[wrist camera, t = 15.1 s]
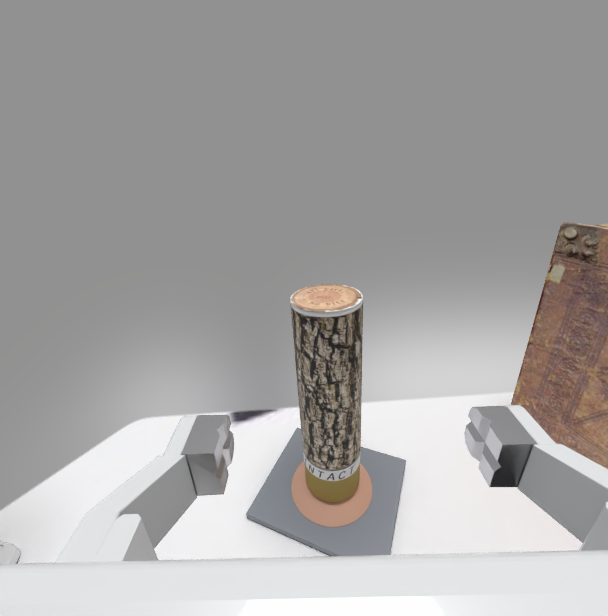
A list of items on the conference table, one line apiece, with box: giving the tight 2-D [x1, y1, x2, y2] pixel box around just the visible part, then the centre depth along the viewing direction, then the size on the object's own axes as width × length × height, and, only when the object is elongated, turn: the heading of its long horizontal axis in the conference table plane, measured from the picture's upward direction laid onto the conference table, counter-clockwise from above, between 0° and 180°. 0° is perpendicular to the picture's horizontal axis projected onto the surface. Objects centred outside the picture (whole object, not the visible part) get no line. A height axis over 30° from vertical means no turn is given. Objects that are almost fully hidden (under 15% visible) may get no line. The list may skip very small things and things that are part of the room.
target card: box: [246, 428, 406, 556], centre depth 40 cm, size 16×14×1 cm
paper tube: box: [291, 284, 363, 502], centre depth 35 cm, size 7×7×25 cm
